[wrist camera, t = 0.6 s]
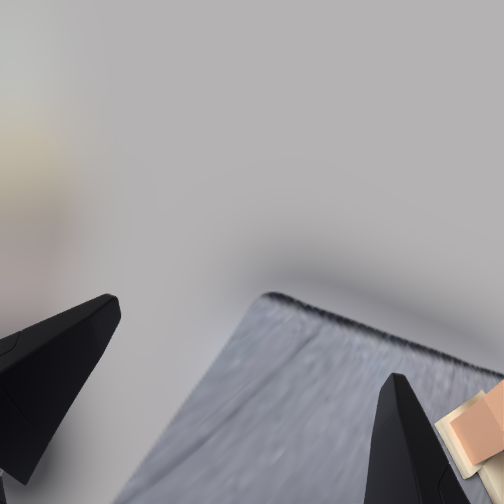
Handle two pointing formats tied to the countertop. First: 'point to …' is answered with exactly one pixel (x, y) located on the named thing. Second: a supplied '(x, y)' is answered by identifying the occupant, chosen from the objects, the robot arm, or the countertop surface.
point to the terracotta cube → (482, 426)
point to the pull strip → (490, 470)
